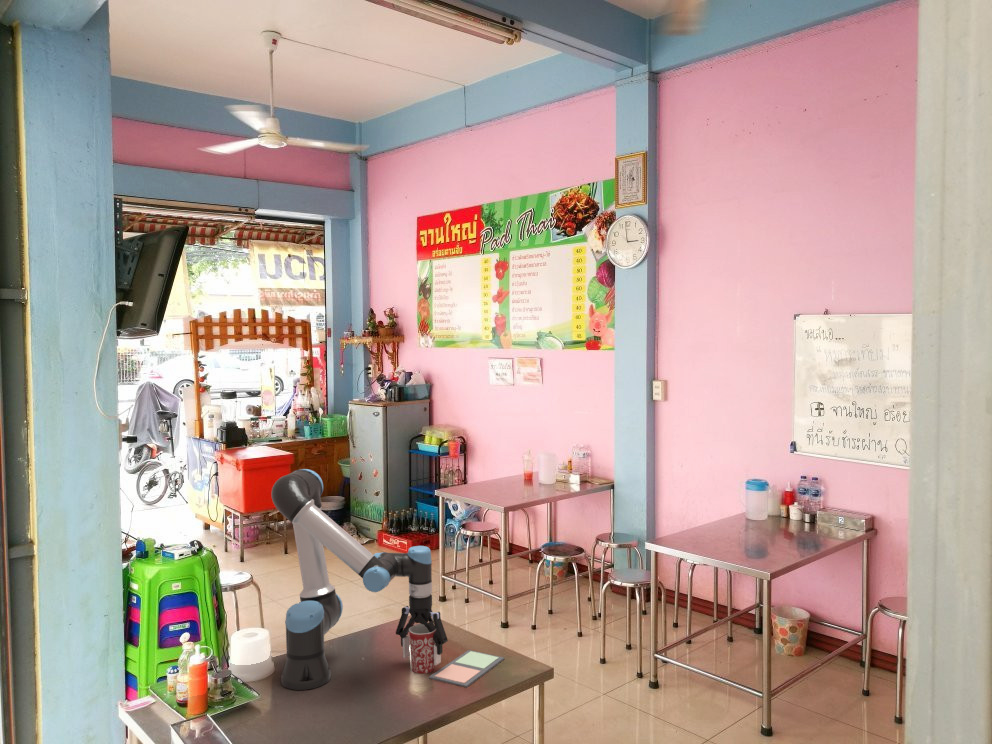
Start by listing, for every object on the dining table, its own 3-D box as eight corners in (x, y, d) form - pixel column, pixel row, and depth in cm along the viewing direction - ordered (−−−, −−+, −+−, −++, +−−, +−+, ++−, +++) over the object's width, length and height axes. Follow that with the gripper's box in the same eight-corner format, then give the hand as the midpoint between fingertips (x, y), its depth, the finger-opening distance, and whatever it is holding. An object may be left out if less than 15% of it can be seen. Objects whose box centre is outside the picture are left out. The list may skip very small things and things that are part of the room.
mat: (429, 678, 243) (429, 676, 243) (468, 651, 264) (468, 649, 264) (466, 687, 237) (466, 685, 237) (504, 659, 257) (504, 657, 257)
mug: (440, 672, 248) (440, 631, 247) (413, 677, 245) (412, 635, 244) (429, 657, 260) (428, 618, 259) (403, 662, 256) (402, 622, 256)
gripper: (384, 592, 254) (385, 657, 255) (445, 603, 242) (446, 671, 243) (397, 586, 260) (398, 649, 261) (457, 596, 249) (458, 662, 249)
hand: (421, 660), depth 252 cm, fingers open, 12 cm apart
